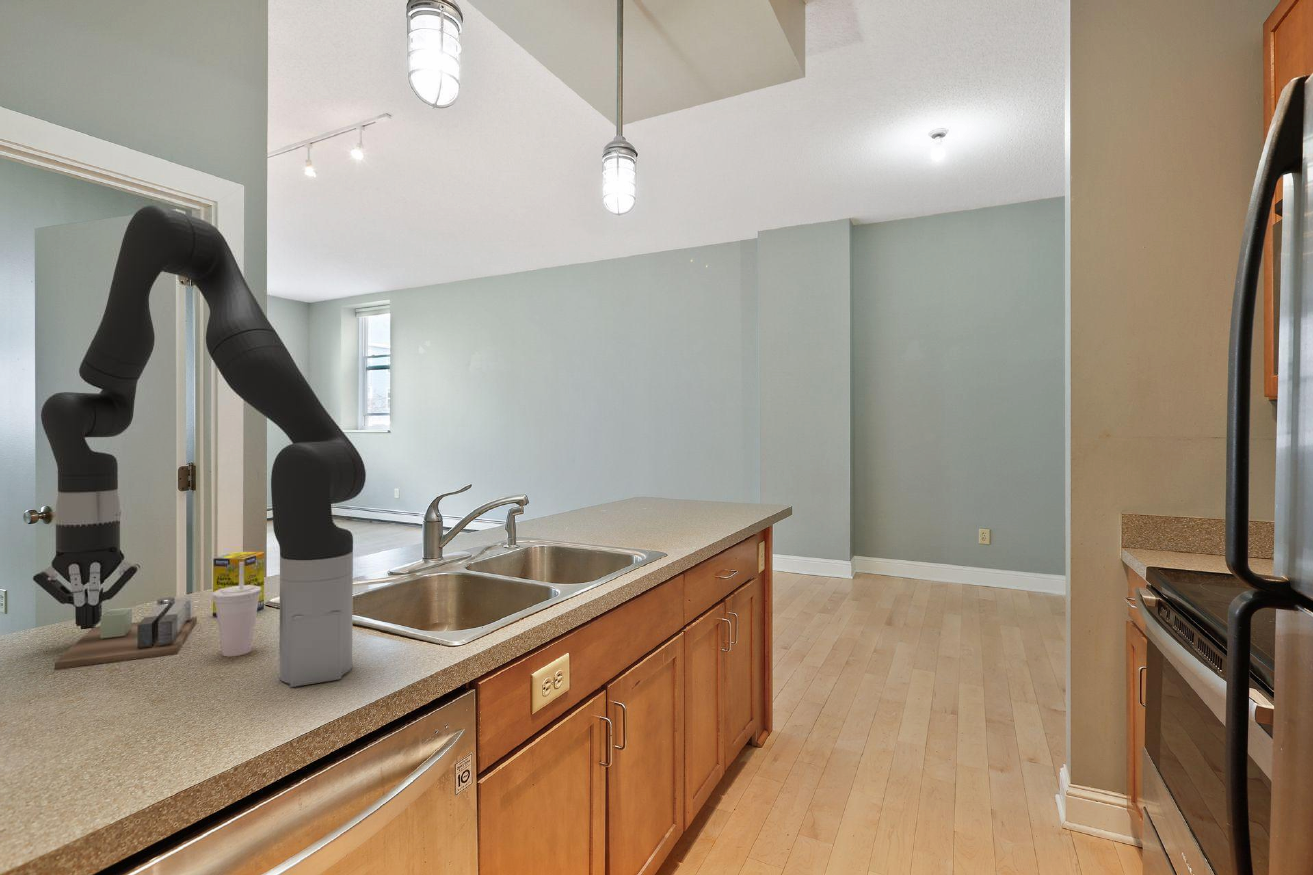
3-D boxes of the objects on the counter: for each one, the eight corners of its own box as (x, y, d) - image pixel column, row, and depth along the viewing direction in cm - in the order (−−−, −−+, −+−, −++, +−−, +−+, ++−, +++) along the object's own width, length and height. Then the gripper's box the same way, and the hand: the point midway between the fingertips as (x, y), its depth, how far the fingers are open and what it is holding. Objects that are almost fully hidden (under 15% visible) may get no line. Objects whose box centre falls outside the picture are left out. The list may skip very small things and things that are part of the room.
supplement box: (244, 618, 112) (244, 558, 112) (211, 617, 112) (211, 557, 112) (265, 608, 118) (265, 551, 118) (234, 607, 118) (234, 550, 118)
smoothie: (266, 652, 96) (267, 562, 96) (217, 663, 91) (217, 569, 91) (254, 641, 101) (255, 556, 100) (207, 651, 96) (207, 562, 96)
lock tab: (125, 635, 99) (125, 613, 99) (100, 638, 97) (100, 616, 97) (131, 628, 102) (131, 607, 102) (108, 630, 101) (108, 609, 101)
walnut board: (176, 653, 95) (176, 647, 95) (54, 669, 88) (54, 662, 88) (196, 621, 110) (196, 615, 110) (93, 632, 103) (93, 627, 103)
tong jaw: (151, 646, 95) (151, 623, 94) (137, 648, 94) (137, 624, 94) (169, 624, 105) (169, 603, 105) (156, 625, 104) (156, 604, 104)
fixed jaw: (175, 644, 96) (175, 619, 96) (136, 649, 94) (136, 623, 94) (193, 617, 109) (193, 595, 109) (158, 621, 107) (158, 598, 106)
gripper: (21, 525, 91) (22, 641, 92) (135, 519, 98) (136, 628, 98) (41, 518, 98) (41, 626, 98) (147, 513, 104) (147, 615, 105)
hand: (89, 627), depth 98 cm, fingers closed
